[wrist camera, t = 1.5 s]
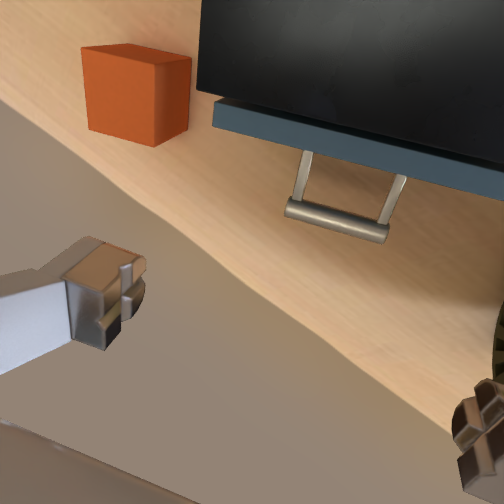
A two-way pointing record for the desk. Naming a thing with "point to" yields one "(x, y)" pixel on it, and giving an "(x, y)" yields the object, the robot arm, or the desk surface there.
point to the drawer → (361, 152)
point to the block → (136, 92)
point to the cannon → (499, 349)
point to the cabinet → (366, 65)
